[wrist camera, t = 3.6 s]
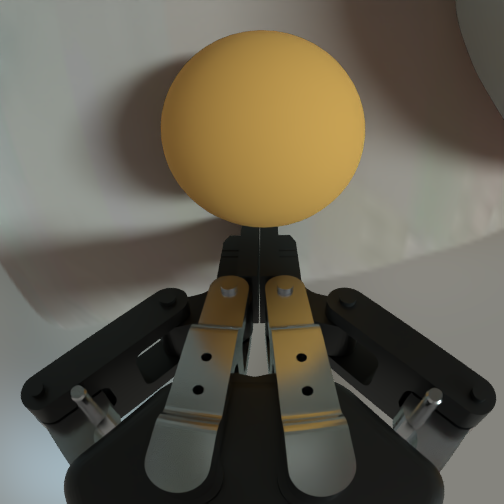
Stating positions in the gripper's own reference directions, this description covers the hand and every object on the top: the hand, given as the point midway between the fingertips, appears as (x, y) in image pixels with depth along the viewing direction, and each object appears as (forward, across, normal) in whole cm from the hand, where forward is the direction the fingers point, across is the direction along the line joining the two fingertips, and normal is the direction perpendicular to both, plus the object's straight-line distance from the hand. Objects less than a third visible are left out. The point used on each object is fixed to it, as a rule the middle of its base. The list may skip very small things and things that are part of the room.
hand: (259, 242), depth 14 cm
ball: (-2, 0, -5) cm, 6 cm away
